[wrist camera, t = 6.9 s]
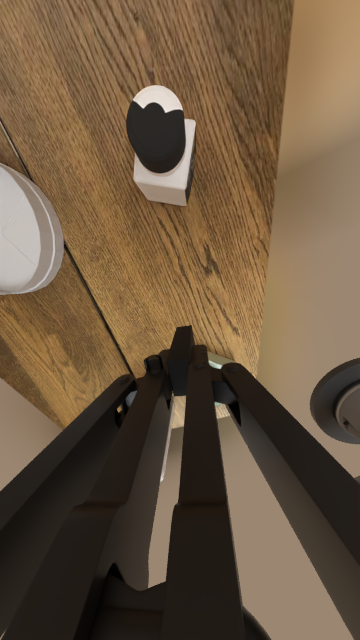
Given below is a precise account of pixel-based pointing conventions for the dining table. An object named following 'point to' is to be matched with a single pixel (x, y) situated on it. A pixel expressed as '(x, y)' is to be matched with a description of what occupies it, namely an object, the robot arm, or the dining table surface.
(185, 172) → the medicine bottle
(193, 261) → the dining table surface
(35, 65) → the dining table surface
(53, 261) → the dish
